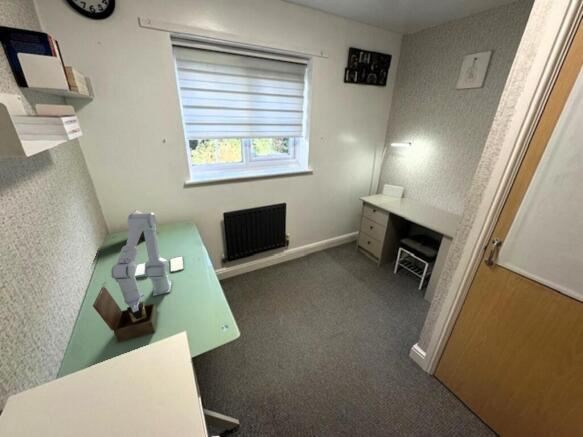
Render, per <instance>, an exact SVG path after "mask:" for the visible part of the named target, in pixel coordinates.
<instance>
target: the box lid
mask: <svg viewBox="0 0 583 437" xmlns="http://www.w3.org/2000/svg"><path fill="white" fill-rule="evenodd" d="M92 307H93V308H94V310H95V311H96V312H97V314H98V315H99V316H100V317H101V319H102V320H103V322H104V323H105V324H106V326H107V327H108V328H109V329H110V331H111V332H114V329H115V326H116V323H117V320H118V318H119V315H120V312H121V311H122V309H121V308H120V305H118V303H117V302H116V300H115V299H114V298H113V296H112V294H111V292H109V290H108V289H107V287H106V286H105V285H103V286H101V288H100V290H99V292H98V294H97V296H96V298H95V300H94V302H93V304H92Z"/></svg>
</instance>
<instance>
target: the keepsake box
mask: <svg viewBox="0 0 583 437" xmlns="http://www.w3.org/2000/svg"><path fill="white" fill-rule="evenodd" d="M144 306H145V309H146V318H144V319H141V320H138V321H135V322H133V321H132V319H131V316H130V313H129V312H128V311H127V309H124V310H121V312H120V315H119V318H118V320H117V323H116V326H115V329H114V330H113V334H114V336H115V339H116V341H117V343H121V342H124V341H128V340H132V339H135V338H139V337H142V336H146V335H150V334H153V333H155V332H156V329H157V328H156V327H157V321H158V315H159V312H158V309H157V305H156V302H154V303H149V304H144Z"/></svg>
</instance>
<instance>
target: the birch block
mask: <svg viewBox="0 0 583 437" xmlns="http://www.w3.org/2000/svg"><path fill="white" fill-rule="evenodd" d="M141 303H143V309H142V318H139V319H136V318H135V317H134V316H133V314H131V313H130V316H131V319H132V321H133V322H135V321H138V320H141V319H144V318H146V309H145V306H144V305H145V304H144V301H140V303H139V304H141Z"/></svg>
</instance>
